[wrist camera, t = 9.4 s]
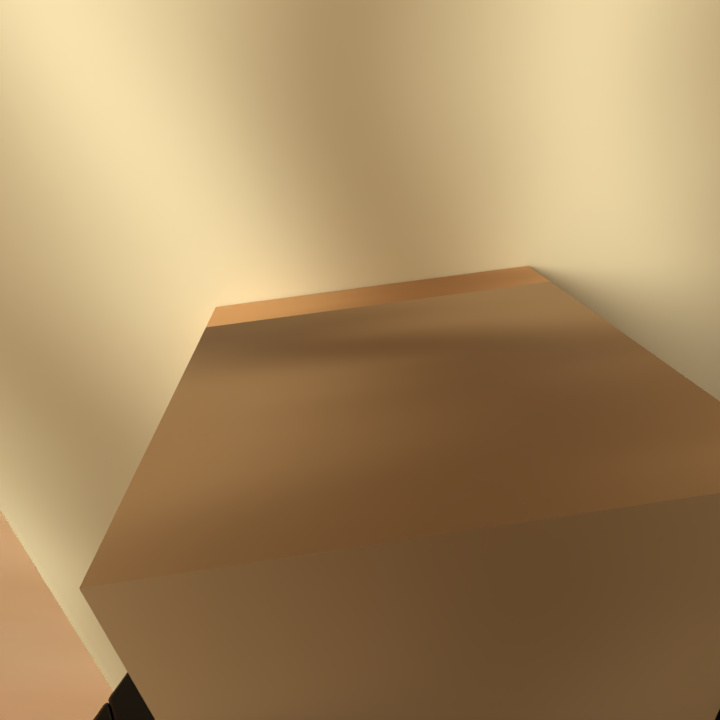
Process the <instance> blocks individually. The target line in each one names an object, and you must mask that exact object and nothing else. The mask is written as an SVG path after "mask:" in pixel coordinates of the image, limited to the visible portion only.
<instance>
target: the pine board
mask: <svg viewBox="0 0 720 720" xmlns="http://www.w3.org/2000/svg"><path fill="white" fill-rule="evenodd" d="M523 266H529V267H531V268H532V269H534V270H535V271H536V272H538V273H539V274H541V275H542V276H543V277H545V278H546V279H548V280H549V281H551V282H552V283H553V284H555V285H556V286H558V287H559V288H560V289H562V290H563V291H565V292H566V293H567V294H569V295H570V296H572V297H573V298H575V299H576V300H577V301H579V302H580V303H582V304H583V305H584V306H586V307H587V308H589V309H590V310H591V311H593V312H594V313H596V314H597V315H599V316H600V317H601V318H603V319H604V320H606V321H607V322H608V323H610V324H611V325H613V326H614V327H615V328H617V329H618V330H620V331H621V332H623V333H624V334H625V335H627V336H628V337H630V338H631V339H632V340H634V341H635V342H637V343H638V344H639V345H641V346H642V347H644V348H645V349H647V350H648V351H649V352H651V353H652V354H654V355H655V356H656V357H658V358H659V359H661V360H662V361H663V362H665V363H666V364H668V365H669V366H671V367H672V368H673V369H675V370H676V371H678V372H679V373H680V374H682V375H683V376H685V377H686V378H687V379H689V380H690V381H692V382H693V383H695V384H696V385H697V386H699V387H700V388H702V389H703V390H704V391H706V392H707V393H709V394H710V395H711V396H713V397H714V398H716V399H717V400H719V401H720V0H0V510H1V512H2V513H3V515H4V517H5V518H6V520H7V521H8V523H9V525H10V526H11V528H12V530H13V531H14V533H15V534H16V536H17V538H18V539H19V541H20V542H21V544H22V546H23V547H24V549H25V550H26V552H27V554H28V555H29V557H30V559H31V560H32V562H33V563H34V565H35V567H36V568H37V570H38V571H39V573H40V575H41V576H42V578H43V580H44V581H45V583H46V584H47V586H48V588H49V589H50V591H51V592H52V594H53V596H54V597H55V599H56V600H57V602H58V604H59V605H60V607H61V609H62V610H63V612H64V613H65V615H66V617H67V618H68V620H69V621H70V623H71V625H72V626H73V628H74V629H75V631H76V633H77V634H78V636H79V638H80V639H81V641H82V642H83V644H84V646H85V647H86V649H87V650H88V652H89V654H90V655H91V657H92V659H93V660H94V662H95V663H96V665H97V667H98V668H99V670H100V671H101V673H102V675H103V676H104V678H105V679H106V681H107V683H108V684H109V686H110V688H111V689H112V691H114V690H115V689H116V687H117V686H118V684H119V683H120V682H121V680H122V679H123V677H124V676H125V675H126V673H127V670H126V668H125V667H124V665H123V663H122V662H121V660H120V658H119V656H118V655H117V653H116V651H115V650H114V648H113V646H112V644H111V643H110V641H109V639H108V637H107V636H106V634H105V632H104V631H103V629H102V627H101V625H100V624H99V622H98V620H97V618H96V617H95V615H94V613H93V612H92V610H91V608H90V606H89V605H88V603H87V601H86V600H85V598H84V596H83V594H82V593H81V591H80V589H79V588H80V586H81V583H82V581H83V579H84V577H85V575H86V573H87V571H88V569H89V567H90V565H91V563H92V561H93V559H94V557H95V555H96V553H97V551H98V548H99V546H100V544H101V542H102V540H103V538H104V536H105V534H106V532H107V530H108V528H109V526H110V524H111V522H112V520H113V518H114V516H115V513H116V511H117V509H118V507H119V505H120V503H121V501H122V499H123V497H124V495H125V493H126V491H127V489H128V487H129V485H130V483H131V480H132V478H133V476H134V474H135V472H136V470H137V468H138V466H139V464H140V462H141V460H142V458H143V456H144V454H145V452H146V450H147V448H148V445H149V443H150V441H151V439H152V437H153V435H154V433H155V431H156V429H157V427H158V425H159V423H160V421H161V419H162V417H163V415H164V413H165V410H166V408H167V406H168V404H169V402H170V400H171V398H172V396H173V394H174V392H175V390H176V388H177V386H178V384H179V382H180V380H181V378H182V375H183V373H184V371H185V369H186V367H187V365H188V363H189V361H190V359H191V357H192V355H193V353H194V351H195V349H196V347H197V345H198V342H199V340H200V338H201V336H202V334H203V332H204V330H205V328H206V326H207V324H208V322H209V320H210V318H211V316H212V314H213V312H214V310H215V307H219V306H227V305H234V304H242V303H249V302H257V301H265V300H272V299H280V298H287V297H295V296H303V295H310V294H318V293H325V292H333V291H341V290H348V289H356V288H363V287H371V286H379V285H386V284H394V283H401V282H409V281H416V280H424V279H432V278H439V277H447V276H454V275H462V274H470V273H477V272H485V271H492V270H500V269H508V268H515V267H523Z"/></svg>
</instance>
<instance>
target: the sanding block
mask: <svg viewBox="0 0 720 720" xmlns="http://www.w3.org/2000/svg"><path fill="white" fill-rule="evenodd" d="M79 589H80V591H81V593H82V594H83V596H84V598H85V600H86V601H87V603H88V605H89V606H90V608H91V610H92V612H93V613H94V615H95V617H96V618H97V620H98V622H99V624H100V625H101V627H102V629H103V631H104V632H105V634H106V636H107V637H108V639H109V641H110V643H111V644H112V646H113V648H114V650H115V651H116V653H117V655H118V656H119V658H120V660H121V662H122V663H123V665H124V667H125V668H126V670H127V672H128V674H129V675H130V677H131V679H132V681H133V682H134V684H135V686H136V687H137V689H138V691H139V693H140V694H141V696H142V698H143V700H144V701H145V703H146V705H147V706H148V708H149V710H150V712H151V713H152V715H153V717H154V718H155V720H715V718H716V716H717V714H718V711H719V709H720V401H719V400H717V399H716V398H714V397H713V396H711V395H710V394H709V393H707V392H706V391H704V390H703V389H702V388H700V387H699V386H697V385H696V384H695V383H693V382H692V381H690V380H689V379H687V378H686V377H685V376H683V375H682V374H680V373H679V372H678V371H676V370H675V369H673V368H672V367H671V366H669V365H668V364H666V363H665V362H663V361H662V360H661V359H659V358H658V357H656V356H655V355H654V354H652V353H651V352H649V351H648V350H647V349H645V348H644V347H642V346H641V345H639V344H638V343H637V342H635V341H634V340H632V339H631V338H630V337H628V336H627V335H625V334H624V333H623V332H621V331H620V330H618V329H617V328H615V327H614V326H613V325H611V324H610V323H608V322H607V321H606V320H604V319H603V318H601V317H600V316H599V315H597V314H596V313H594V312H593V311H591V310H590V309H589V308H587V307H586V306H584V305H583V304H582V303H580V302H579V301H577V300H576V299H575V298H573V297H572V296H570V295H569V294H567V293H566V292H565V291H563V290H562V289H560V288H559V287H558V286H556V285H555V284H553V283H552V282H551V281H549V280H548V279H546V278H545V277H543V276H542V275H541V274H539V273H538V272H536V271H535V270H534V269H532V268H531V267H529V266H523V267H515V268H508V269H500V270H492V271H485V272H477V273H470V274H462V275H454V276H447V277H439V278H432V279H424V280H416V281H409V282H401V283H394V284H386V285H379V286H371V287H363V288H356V289H348V290H341V291H333V292H325V293H318V294H310V295H303V296H295V297H287V298H280V299H272V300H265V301H257V302H249V303H242V304H234V305H227V306H219V307H215V310H214V312H213V314H212V316H211V318H210V320H209V322H208V324H207V326H206V328H205V330H204V332H203V334H202V336H201V338H200V340H199V342H198V345H197V347H196V349H195V351H194V353H193V355H192V357H191V359H190V361H189V363H188V365H187V367H186V369H185V371H184V373H183V375H182V378H181V380H180V382H179V384H178V386H177V388H176V390H175V392H174V394H173V396H172V398H171V400H170V402H169V404H168V406H167V408H166V410H165V413H164V415H163V417H162V419H161V421H160V423H159V425H158V427H157V429H156V431H155V433H154V435H153V437H152V439H151V441H150V443H149V445H148V448H147V450H146V452H145V454H144V456H143V458H142V460H141V462H140V464H139V466H138V468H137V470H136V472H135V474H134V476H133V478H132V480H131V483H130V485H129V487H128V489H127V491H126V493H125V495H124V497H123V499H122V501H121V503H120V505H119V507H118V509H117V511H116V513H115V516H114V518H113V520H112V522H111V524H110V526H109V528H108V530H107V532H106V534H105V536H104V538H103V540H102V542H101V544H100V546H99V548H98V551H97V553H96V555H95V557H94V559H93V561H92V563H91V565H90V567H89V569H88V571H87V573H86V575H85V577H84V579H83V581H82V583H81V586H80V588H79Z"/></svg>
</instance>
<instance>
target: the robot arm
mask: <svg viewBox="0 0 720 720" xmlns="http://www.w3.org/2000/svg"><path fill="white" fill-rule="evenodd" d="M93 720H155V718H154V717H153V715H152V713H151V712H150V710H149V708H148V706H147V705H146V703H145V701H144V700H143V698H142V696H141V694H140V693H139V691H138V689H137V687H136V686H135V684H134V682H133V681H132V679H131V677H130V675H129V674H128V672H127V673H126V675H125V676H124V677H123V679H122V680H121V682H120V683H119V684H118V686H117V687H116V689H115V690H114V691H113V693H112V694H111V696H110V697H109V703H105V704H104V705H103V707H102V708H101V709H100V711H99V712H98V714H97V715H96V717H95V718H94V719H93ZM715 720H720V709H719V711H718V714H717V716H716V718H715Z"/></svg>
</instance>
